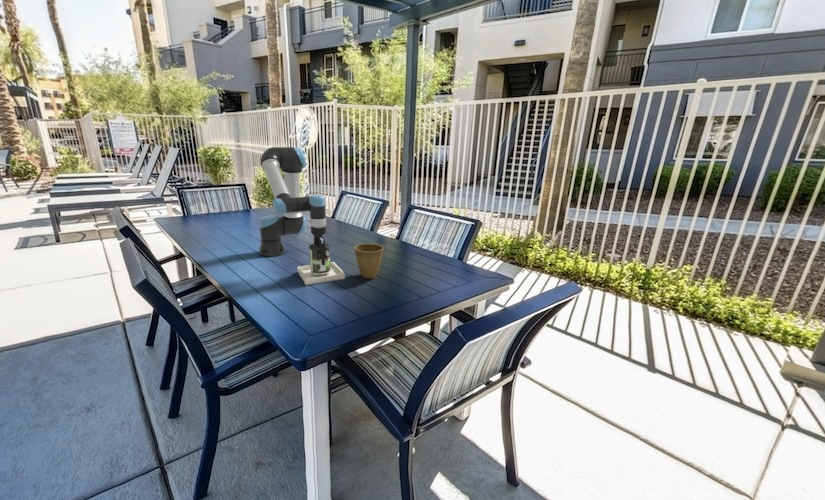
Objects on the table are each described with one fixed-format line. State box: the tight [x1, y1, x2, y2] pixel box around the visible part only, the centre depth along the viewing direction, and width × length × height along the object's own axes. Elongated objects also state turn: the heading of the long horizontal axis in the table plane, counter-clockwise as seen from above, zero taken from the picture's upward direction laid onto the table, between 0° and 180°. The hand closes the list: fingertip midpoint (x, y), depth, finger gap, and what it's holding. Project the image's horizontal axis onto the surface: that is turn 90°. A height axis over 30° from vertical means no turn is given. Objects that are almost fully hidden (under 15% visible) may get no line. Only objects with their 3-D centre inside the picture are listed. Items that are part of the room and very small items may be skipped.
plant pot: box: [354, 243, 384, 279], centre depth 179 cm, size 15×15×16 cm
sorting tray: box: [297, 261, 346, 286], centre depth 180 cm, size 20×20×3 cm
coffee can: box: [308, 243, 331, 275], centre depth 178 cm, size 10×10×14 cm
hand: (320, 267), depth 179 cm, fingers closed on coffee can, 10 cm apart
